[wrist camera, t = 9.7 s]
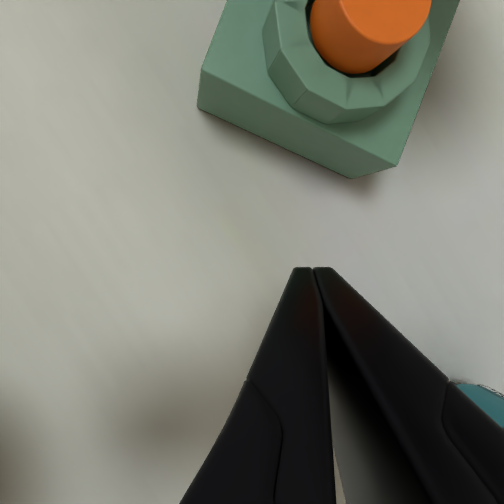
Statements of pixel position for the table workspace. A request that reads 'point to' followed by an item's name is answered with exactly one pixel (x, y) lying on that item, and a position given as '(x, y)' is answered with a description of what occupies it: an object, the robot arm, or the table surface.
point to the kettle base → (316, 85)
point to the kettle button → (364, 30)
